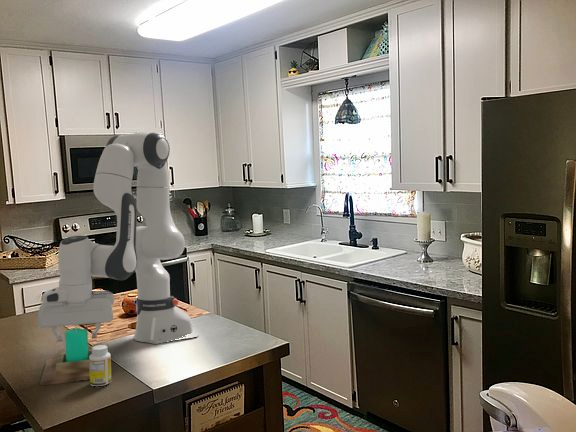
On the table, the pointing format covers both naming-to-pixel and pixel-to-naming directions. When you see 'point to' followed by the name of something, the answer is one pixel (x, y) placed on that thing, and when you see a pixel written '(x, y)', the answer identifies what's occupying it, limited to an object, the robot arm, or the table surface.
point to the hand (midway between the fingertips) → (77, 339)
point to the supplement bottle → (100, 366)
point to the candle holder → (65, 370)
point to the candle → (76, 344)
